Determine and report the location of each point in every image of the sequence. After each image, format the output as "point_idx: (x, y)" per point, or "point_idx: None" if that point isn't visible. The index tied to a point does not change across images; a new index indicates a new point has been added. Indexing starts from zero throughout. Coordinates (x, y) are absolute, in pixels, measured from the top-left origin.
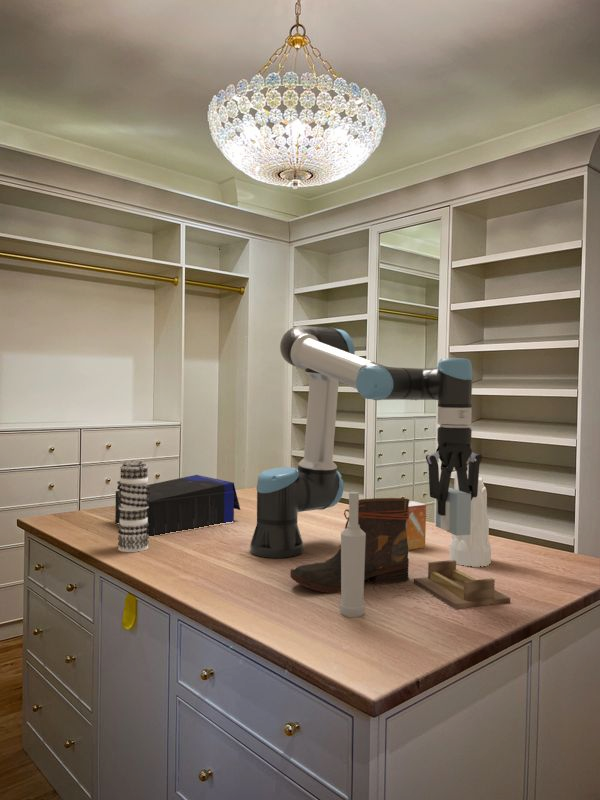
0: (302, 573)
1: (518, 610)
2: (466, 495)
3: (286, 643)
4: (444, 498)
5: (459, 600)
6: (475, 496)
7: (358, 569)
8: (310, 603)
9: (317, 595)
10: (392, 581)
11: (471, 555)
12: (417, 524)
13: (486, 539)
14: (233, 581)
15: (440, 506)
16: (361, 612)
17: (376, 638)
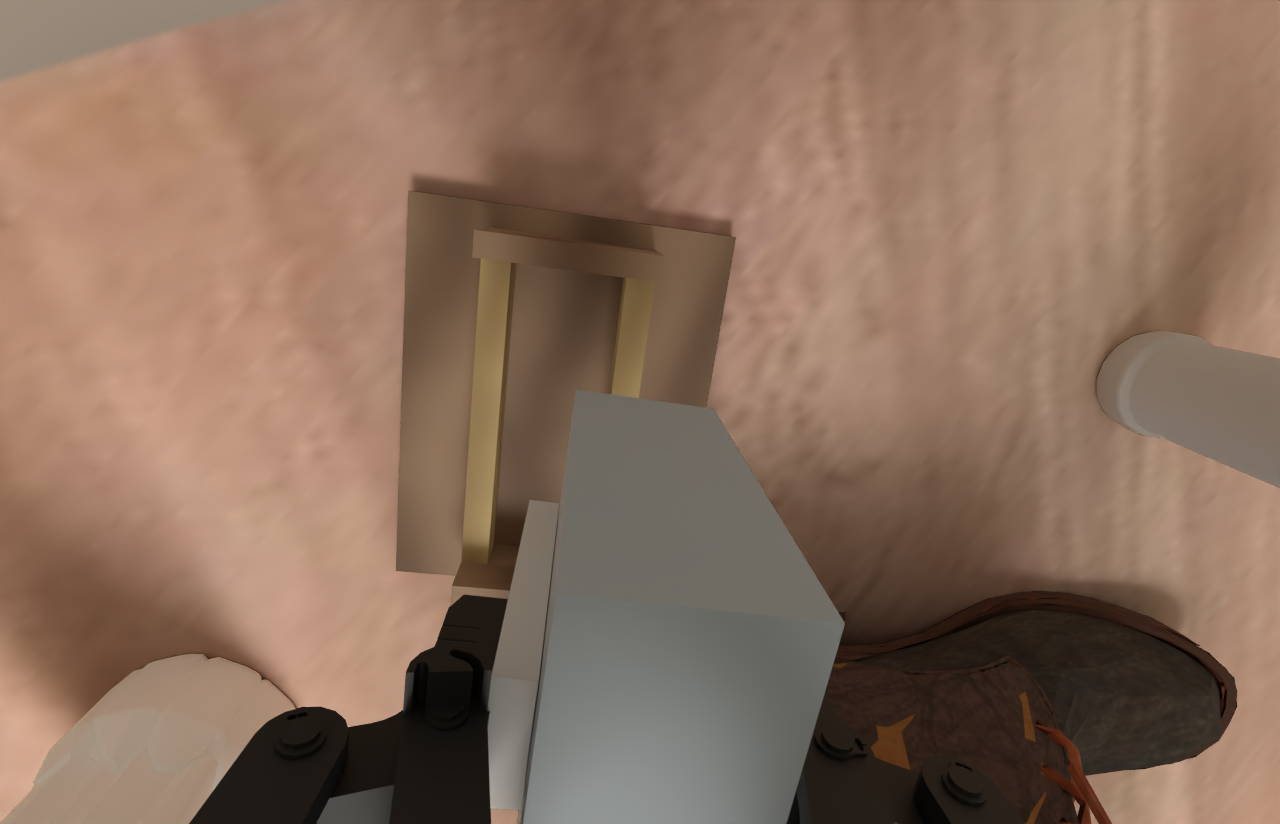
0: (1211, 688)
1: (453, 83)
2: (652, 590)
3: None
4: (850, 744)
5: (680, 270)
6: (304, 716)
7: None
8: (1197, 526)
9: (1117, 590)
10: None
11: (224, 713)
12: None
13: (51, 785)
14: (1264, 807)
15: (824, 702)
16: (1150, 334)
17: (1257, 100)
